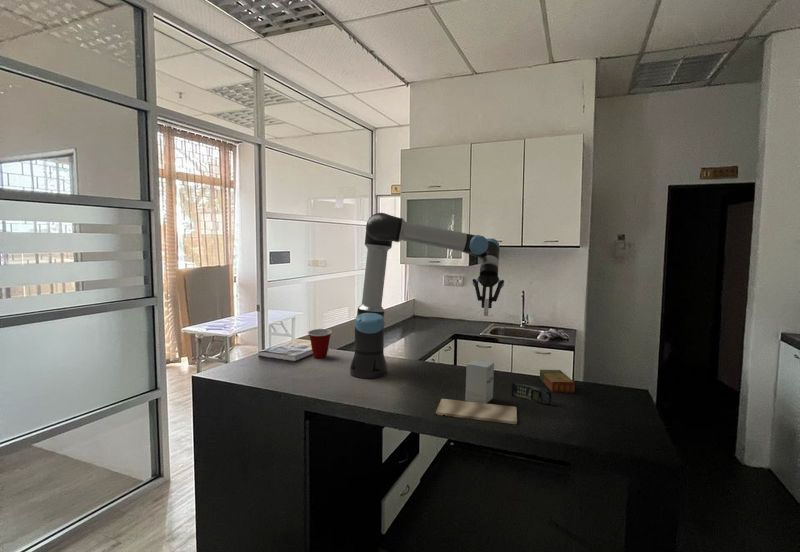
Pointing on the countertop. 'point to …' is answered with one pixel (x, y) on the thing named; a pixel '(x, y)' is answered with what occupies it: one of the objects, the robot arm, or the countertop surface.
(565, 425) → the countertop surface
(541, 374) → the carton
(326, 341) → the plastic cup
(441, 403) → the wooden board
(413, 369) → the countertop surface
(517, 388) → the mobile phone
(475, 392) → the supplement box
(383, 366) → the robot arm
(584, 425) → the countertop surface
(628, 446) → the countertop surface
